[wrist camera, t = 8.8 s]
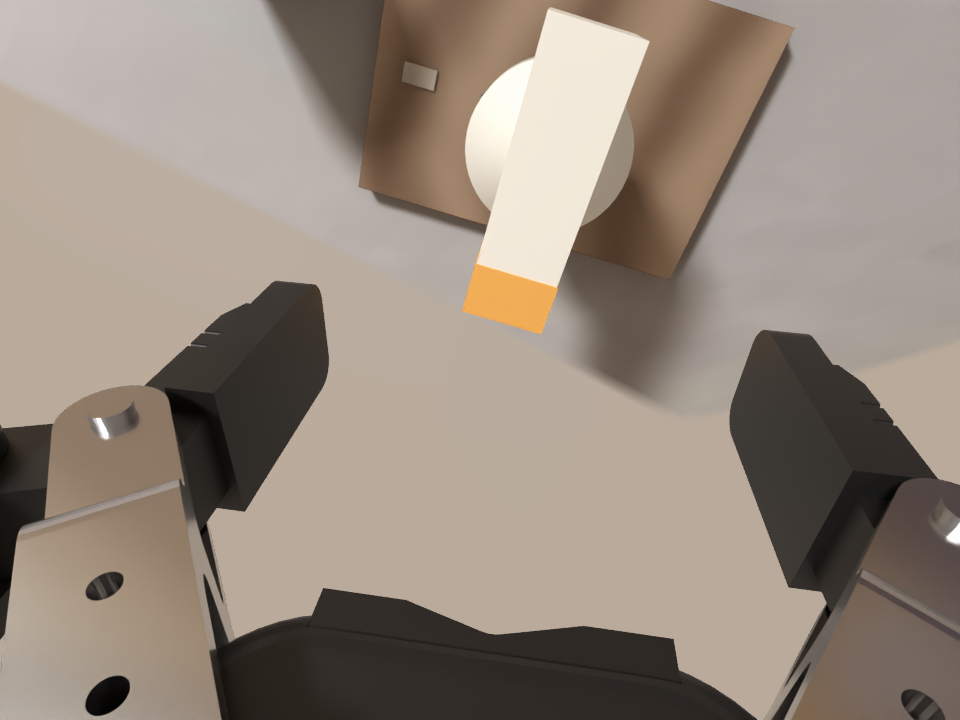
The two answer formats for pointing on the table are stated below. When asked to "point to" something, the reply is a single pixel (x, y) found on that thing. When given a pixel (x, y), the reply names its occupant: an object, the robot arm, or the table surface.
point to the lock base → (651, 105)
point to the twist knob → (548, 161)
